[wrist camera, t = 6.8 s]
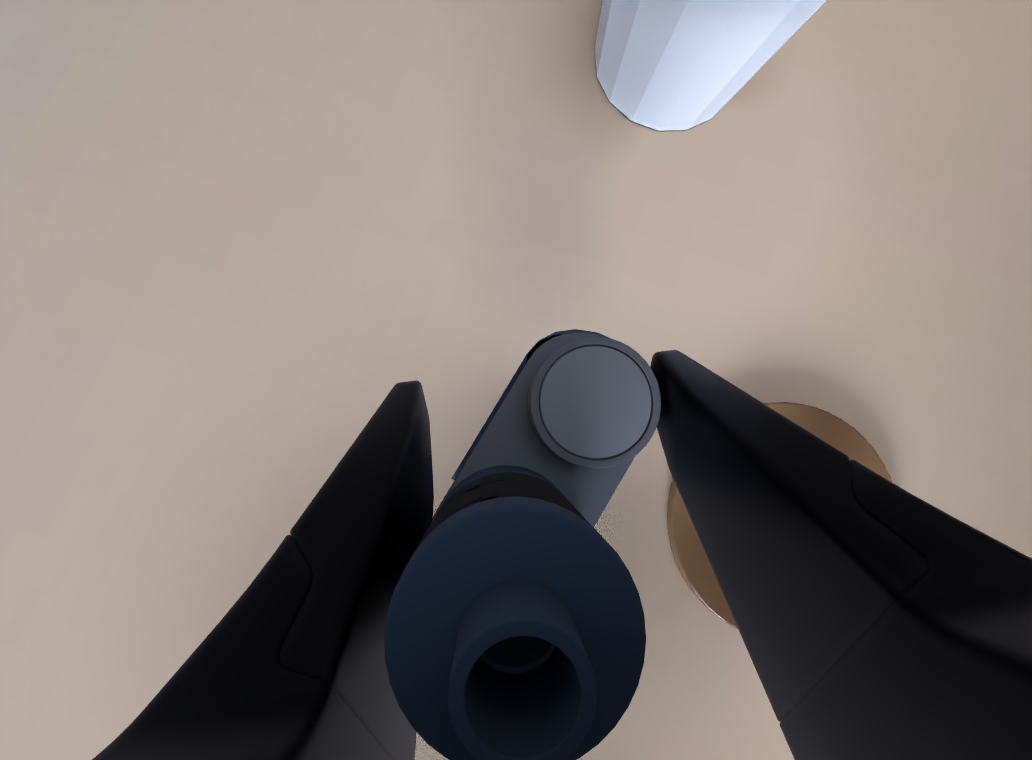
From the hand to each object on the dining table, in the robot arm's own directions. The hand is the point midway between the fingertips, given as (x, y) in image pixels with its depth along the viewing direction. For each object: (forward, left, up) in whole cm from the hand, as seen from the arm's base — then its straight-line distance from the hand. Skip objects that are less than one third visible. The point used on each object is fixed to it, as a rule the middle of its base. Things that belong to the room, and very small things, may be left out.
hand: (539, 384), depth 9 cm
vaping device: (0, +1, -7) cm, 7 cm away
